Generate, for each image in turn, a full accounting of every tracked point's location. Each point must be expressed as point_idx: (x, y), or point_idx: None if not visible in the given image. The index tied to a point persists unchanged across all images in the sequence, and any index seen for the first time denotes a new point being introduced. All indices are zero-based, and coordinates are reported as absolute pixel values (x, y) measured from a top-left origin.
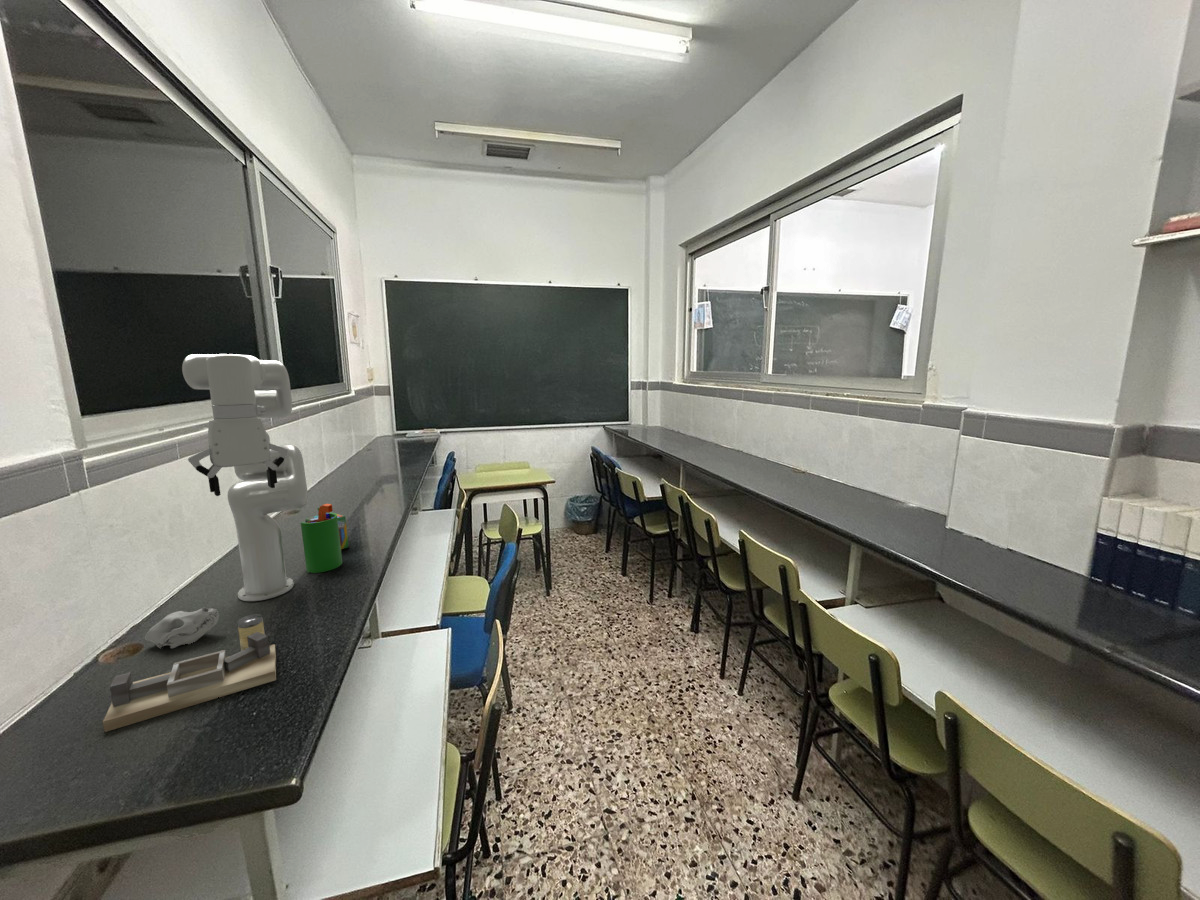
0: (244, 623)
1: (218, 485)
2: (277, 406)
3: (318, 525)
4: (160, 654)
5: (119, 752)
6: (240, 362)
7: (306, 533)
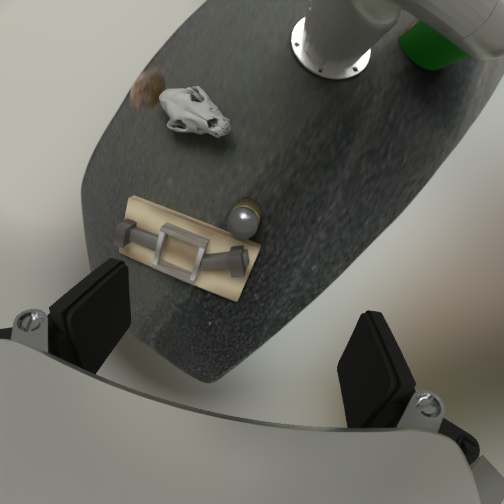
0: (232, 230)
1: (106, 354)
2: None
3: None
4: None
5: (132, 284)
6: None
7: None
